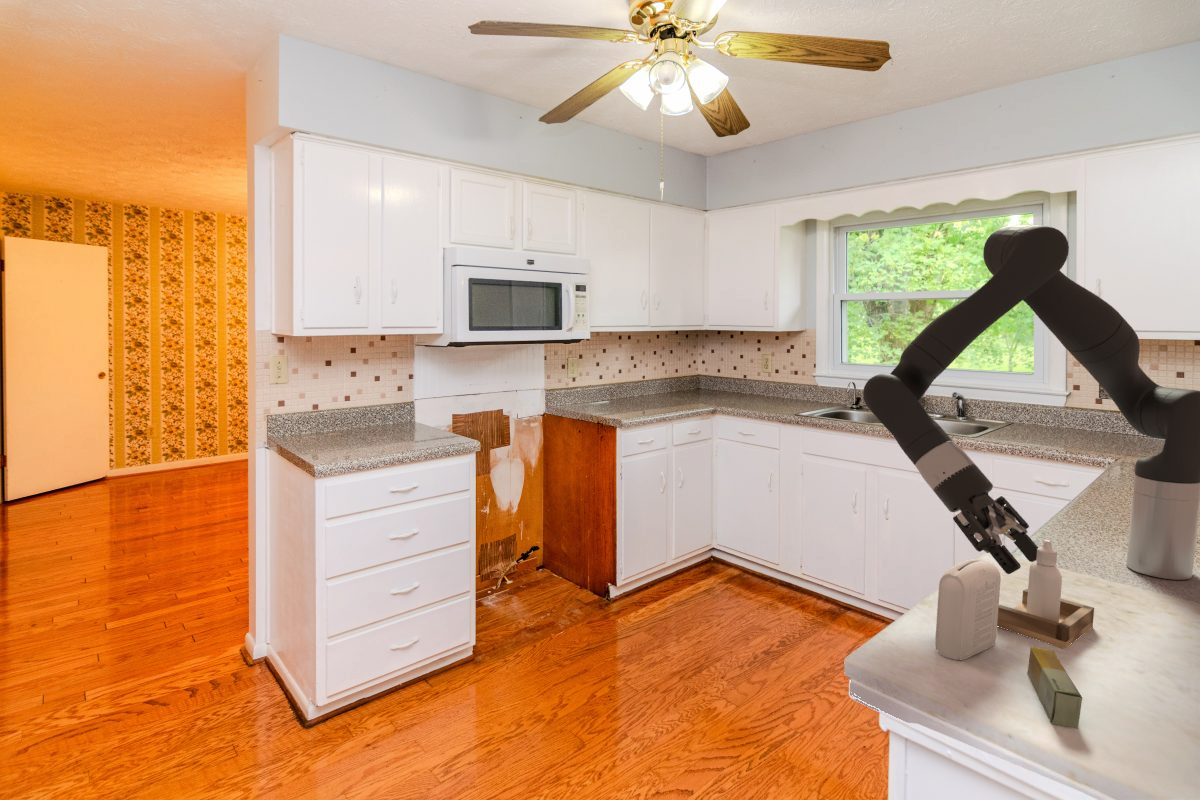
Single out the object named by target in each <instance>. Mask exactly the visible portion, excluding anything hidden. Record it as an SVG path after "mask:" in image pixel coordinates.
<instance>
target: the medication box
mask: <svg viewBox="0 0 1200 800" xmlns="http://www.w3.org/2000/svg"><path fill="white" fill-rule="evenodd" d="M1029 648H1030V650H1029V657H1028V663H1027V672H1026V674H1027V677H1028V679H1029V681H1030V683H1031V685H1032V687H1033V689H1034V691H1035V693H1036V695H1037V698H1038V699H1039V701H1040V704H1041V705H1042V708H1043V710H1044V712H1045V714H1046V716H1047V719H1048V720H1049V722H1050V724H1052V725H1054V726H1058V727H1063V728H1067V729H1079V726H1080V725H1079V723H1080V718H1081V711H1082V709H1081V708H1082V704H1083V697H1082V694H1081V693H1080V692H1079V690H1078V689H1077V687H1076V685H1075V683H1074V682H1073V679H1072V678H1071V677H1070V675H1069V673H1068V671H1067V670H1066V669H1065V667H1064V665H1063V664H1062V662H1061V661H1060V659H1059V657H1058V656H1057V654H1056V653H1055V651H1054V650H1051V649H1047V648H1041V647H1037V646H1030V647H1029Z"/></svg>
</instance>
